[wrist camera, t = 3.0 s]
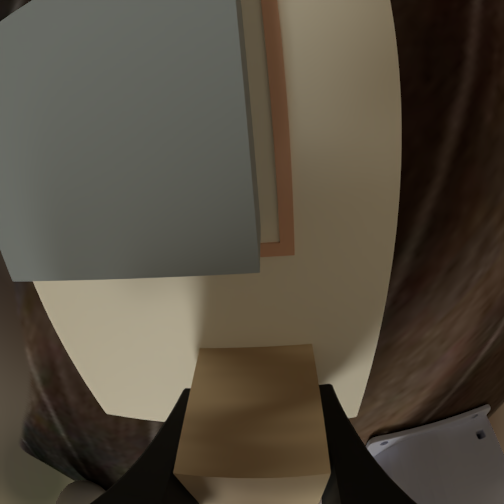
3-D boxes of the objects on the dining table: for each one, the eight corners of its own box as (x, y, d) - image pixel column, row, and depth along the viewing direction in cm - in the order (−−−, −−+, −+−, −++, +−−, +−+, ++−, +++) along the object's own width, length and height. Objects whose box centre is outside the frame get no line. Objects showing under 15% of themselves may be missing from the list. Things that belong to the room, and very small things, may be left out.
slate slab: (238, -22, 5) (229, -67, 3) (260, 226, 8) (259, 272, 6) (23, 47, 6) (-30, 45, 4) (55, 243, 9) (12, 281, 7)
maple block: (312, 343, 10) (330, 473, 6) (307, 406, 12) (316, 508, 8) (200, 348, 11) (172, 473, 6) (217, 409, 12) (204, 508, 8)
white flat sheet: (374, -35, 5) (382, -43, 5) (354, 407, 13) (356, 418, 13) (-2, 47, 6) (-14, 47, 5) (109, 405, 14) (105, 414, 13)
